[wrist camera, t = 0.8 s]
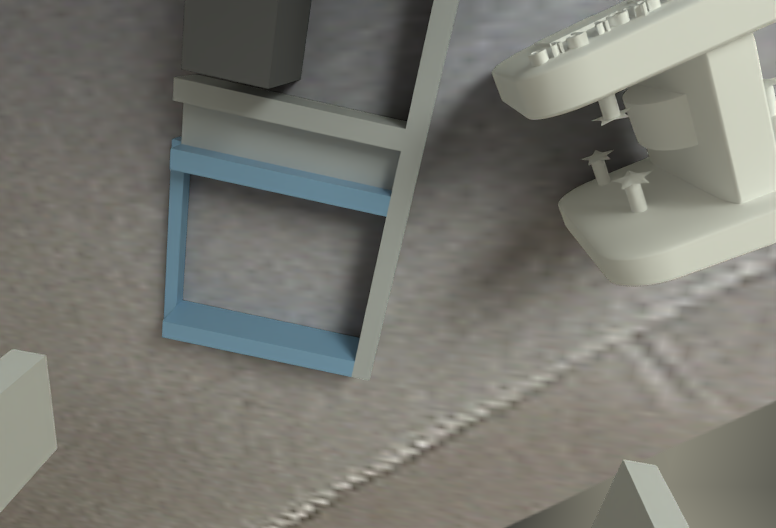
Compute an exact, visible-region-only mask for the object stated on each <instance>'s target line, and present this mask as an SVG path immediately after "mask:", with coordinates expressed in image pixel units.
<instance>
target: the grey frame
mask: <svg viewBox="0 0 776 528" xmlns="http://www.w3.org/2000/svg"><path fill="white" fill-rule="evenodd" d="M458 3H459V0H434V1H433V5H432V10H431V14H430V19H429V23H428V28H427V33H426V37H425V42H424V46H423V51H422V55H421V60H420V65H419V69H418V74H417V78H416V83H415V87H414V92H413V97H412V101H411V106H410V110H409V115H408V120H407V121H402V120H398V119H393V118H389V117H385V116H380V115H376V114H371V113H367V112H362V111H358V110H353V109H349V108H344V107H340V106H336V105H331V104H327V103H322V102H318V101H313V100H309V99H304V98H300V97H295V96H291V95H286V94H282V93H278V92H273V91H269V90H264V89H260V88H255V87H251V86H246V85H242V84H237V83H233V82H229V81H224V80H220V79H215V78H211V77H206V76H202V75H197V74H195V75H187V76H180V77H174V85H173V101H177V102H182V103H183V121H182V137H180V136H179V137H176V138H174V139H172V148H171V151H170V169H171V175H170V197H169V218H168V240H167V262H166V283H165V305H164V320H163V328H162V337H164V338H169V339H173V340H178V341H183V342H188V343H192V344H197V345H202V346H207V347H211V348H216V349H221V350H226V351H230V352H235V353H240V354H245V355H249V356H254V357H259V358H264V359H268V360H273V361H278V362H283V363H287V364H292V365H297V366H302V367H306V368H311V369H316V370H321V371H325V372H330V373H335V374H340V375H344V376H349V377H354V378H359V379H363V380H368V381H369V380H370V376H371V372H372V368H373V364H374V359H375V355H376V351H377V347H378V342H379V338H380V334H381V330H382V325H383V321H384V317H385V313H386V308H387V304H388V300H389V296H390V291H391V287H392V283H393V279H394V274H395V270H396V266H397V262H398V257H399V253H400V249H401V245H402V241H403V236H404V232H405V228H406V224H407V219H408V215H409V211H410V207H411V202H412V198H413V194H414V190H415V185H416V181H417V177H418V173H419V168H420V164H421V160H422V156H423V151H424V147H425V143H426V139H427V135H428V130H429V126H430V122H431V118H432V113H433V109H434V105H435V101H436V96H437V92H438V88H439V84H440V79H441V75H442V71H443V67H444V62H445V58H446V54H447V50H448V45H449V41H450V37H451V33H452V28H453V24H454V20H455V16H456V12H457V7H458ZM190 174H194V175H198V176H203V177H207V178H212V179H216V180H221V181H226V182H230V183H235V184H239V185H244V186H248V187H253V188H257V189H262V190H267V191H271V192H276V193H280V194H285V195H289V196H294V197H299V198H303V199H308V200H312V201H317V202H321V203H326V204H330V205H335V206H340V207H344V208H349V209H353V210H358V211H362V212H367V213H372V214H376V215H381V216H385V217H386V220H385V225H384V229H383V234H382V239H381V243H380V248H379V252H378V257H377V261H376V266H375V271H374V275H373V280H372V284H371V289H370V293H369V298H368V303H367V307H366V312H365V316H364V321H363V326H362V330H361V335H360V338H358V337H354V336H349V335H344V334H340V333H335V332H330V331H325V330H321V329H316V328H311V327H307V326H302V325H297V324H293V323H288V322H283V321H278V320H274V319H269V318H264V317H260V316H255V315H250V314H246V313H241V312H236V311H231V310H227V309H222V308H217V307H213V306H208V305H203V304H199V303H194V302H189V301H184V300H183V284H184V268H185V251H186V235H187V219H188V202H189V186H190Z"/></svg>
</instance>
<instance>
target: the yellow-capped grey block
mask: <svg viewBox="0 0 776 528" xmlns="http://www.w3.org/2000/svg"><path fill="white" fill-rule="evenodd" d="M310 7H311V0H185V4H184V24H183V44H182V64H181V69H182V70H187V71H191V72H196V73H200V74H205V75H209V76H213V77H218V78H222V79H227V80H231V81H236V82H240V83H245V84H249V85H254V86H258V87H262V88H267V89H269V88H273V87H276V86H279V85H283V84H286V83H290V82H293V81H296V80H300V79H301V73H302V66H303V58H304V51H305V44H306V36H307V29H308V21H309V14H310Z"/></svg>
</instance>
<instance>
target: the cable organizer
mask: <svg viewBox="0 0 776 528" xmlns="http://www.w3.org/2000/svg"><path fill="white" fill-rule="evenodd" d="M775 22H776V0H625V1H623V2H621V3H619V4H617V5H615V6H613V7H611V8H609V9H607V10H604V11H602V12H600V13H598V14H596V15H592V16H590V17H588V18H586V19H584V20H582V21H580V22H578V23H575V24H573V25H571V26H569V27H567V28H565V29H563V30H561V31H559V32H557V33H555V34H553V35H550V36H548V37H546V38H544V39H542V40H540V41H538V42H536V43H534V45H532V46H530V47H528V48H526V49H524V50H522V51H520V52H518V53H516V54H514V55H513V56H511V57H509V58H508V59H506V60H505V61H503V62H502V63H500V64H499V65H498V66H496V67H495V68H494V69H493V70H492V75H493V78H494V81H495V83H496V86H497V89H498V91H499V94H500V97H501V99H502V101H503V102H505V103H506V104H508V105H509V106H511V107H512V108H513V109H515V110H516V111H518V112H519V113H521V114H522V115H523V116H525V117H526V118H528V119H531V120H539V119H545V118H550V117H554V116H558V115H561V114H565V113H568V112H571V111H574V110H576V109H579V108H582V107H585V106H587V105H590V104H592V103H594V102H597V101H598V102H599V106H600V109H601V112H602V115H603V117H600V118H597V119H595V120H592V121H602V124H601V126H602V125H604V124H606V123H608V122H610V121H612V120H615V119H621V118H627V117H629V119H630V122H631V124H632V127H633V130H634V133H635V136H636V138H637V141H638V143H639V144H640V145H641V146H643V147H645V148H647V152H648V155H649V157H648V158H645V159H643V160H640V161H638V162H635V163H633V164H631V165H628V166H626V167H623V168H621V169H618V170H616V171H614V172H611V173H608V170H607V167H606V164H605V161H604V160H608V159H610V158H609V157H608V156H607V155H608V154H609V153H611V152H612V151H614V150H611V151H607V152H599V151H597V150H596V151H595V152H594V153H593V154H592V156H589V157H586V158H583V159H580V160H589V164H588V165H590V164H591V165H592V168H593V171H594V174H595V177H596V179H594V180H592V181H589V182H587V183H585V184H583V185H581V186H579V187H577V188H575V189H573V190H572V191H570V192H569V193H567V194H566V195H565V196H563V197H562V199H561V200H560V201H559V203H558V207H559V210H560V212H561V215H562V218H563V221H564V223H565V226H566V227H567V229H568V230H569V231H570V232H571V234H572V235H573V236H574V237H575V239H576V240H577V241H578V243H579V244H580V245H581V246H582V248H583V249H584V250H585V251H586V253H587V254H588V255H589V256H590V258H591V259H592V260H593V262H594V263H595V264H596V265H597V267H598V268H599V269H600V270H601V272H602V273H603V274H604V275H605V277H606V278H607V279H608V280H609V281H610V282H612V283H614V284H617V285H621V286H647V285H653V284H658V283H663V282H667V281H670V280H674V279H677V278H680V277H682V276H685V275H688V274H691V273H694V272H696V271H699V270H702V269H705V268H707V267H710V266H713V265H716V264H719V263H721V262H724V261H727V260H730V259H733V258H735V257H738V256H741V255H744V254H746V253H749V252H752V251H755V250H758V249H760V248H763V247H766V246H769V245H771V244H774V243H776V98H775V93H774V88H773V85H776V78H772V79H763V77H762V72H761V67H760V62H759V57H758V52H757V47H756V42H755V38H754V35H753V32H754V31H757V30H759V29H761V28H763V27H766V26H768V25H770V24H772V23H775ZM628 87H629V89H628V90H627V91H626V92H625V93H624V94H623V96H622V99H623V102H624V105H625V108H626V109H624V110H621V111H620V110H619V107H618V103H617V100H616V97H615V93H617V92H619V91H622V90H624V89H626V88H628ZM626 112H627V113H628V115H626V114H625V113H626Z"/></svg>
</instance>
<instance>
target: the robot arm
mask: <svg viewBox="0 0 776 528" xmlns="http://www.w3.org/2000/svg"><path fill="white" fill-rule="evenodd" d="M56 449H57V441H56V432H55V424H54V416H53V407H52V399H51V391H50V382H49V374H48V366H47V358H46V355H43V354H37V353H32V352H26V351H20V350H15V349H12V350H10V351H9V352H8V353H6V354H5V355H4V356H3V357H1V358H0V512H1V511H2V510H3V509H4V508H5V507H6V506H7V505H8V503H9V502H10V501H11V500H12V499H13V498H14V497H15V496H16V494H17V493H18V492H19V491H20V490H21V489H22V488H23V487H24V485H25V484H26V483H27V482H28V481H29V480H30V479H31V478H32V476H33V475H34V474H35V473H36V472H37V471H38V470H39V469H40V467H41V466H42V465H43V464H44V463H45V462H46V461H47V459H48V458H49V457H50V456H51V455H52V454H53V453H54V452H55V450H56ZM591 528H689V526H688V524H687V522H686V520H685V518H684V516H683V514H682V513H681V511H680V509H679V507H678V505H677V503H676V501H675V499H674V498H673V496H672V494H671V492H670V490H669V488H668V486H667V484H666V482H665V480H664V479H663V477H662V475H661V473H660V471H659V469H658V467H657V466H656V465H651V464H646V463H640V462H635V461H629V460H624V459H623V461H622V463H621V465H620V467H619V469H618V472H617V474H616V476H615V478H614V481H613V483H612V484H611V486H610V489H609V491H608V493H607V495H606V497H605V500H604V501H603V504H602V506H601V508H600V510H599V512H598V514H597V516H596V519H595V521H594V523H593V525H592V527H591Z"/></svg>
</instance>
